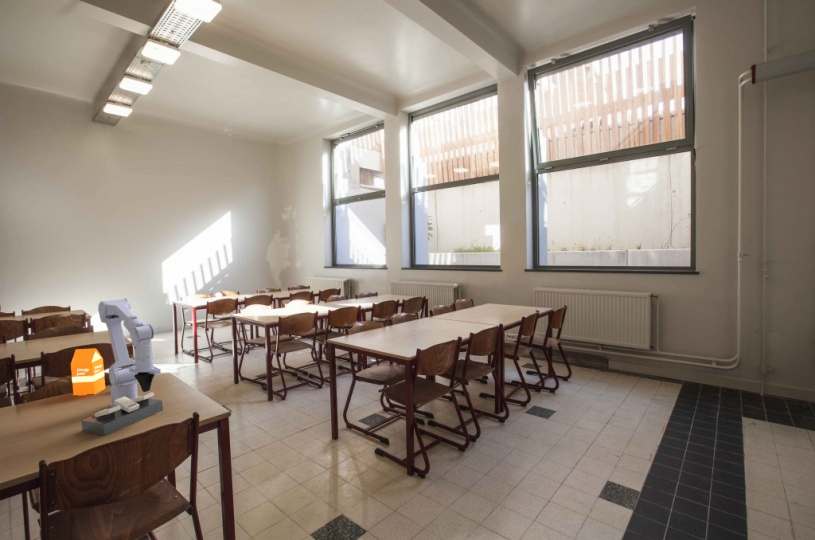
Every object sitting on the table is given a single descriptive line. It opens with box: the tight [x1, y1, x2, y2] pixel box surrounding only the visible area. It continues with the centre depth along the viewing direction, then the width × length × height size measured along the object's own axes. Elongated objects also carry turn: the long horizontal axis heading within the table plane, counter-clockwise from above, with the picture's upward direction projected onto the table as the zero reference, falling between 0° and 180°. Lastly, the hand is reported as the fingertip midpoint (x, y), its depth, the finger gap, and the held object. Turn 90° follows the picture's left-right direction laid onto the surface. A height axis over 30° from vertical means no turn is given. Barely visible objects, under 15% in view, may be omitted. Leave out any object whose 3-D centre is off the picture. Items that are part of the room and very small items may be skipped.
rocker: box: [94, 405, 121, 417], centre depth 145 cm, size 8×4×2 cm, turn 69°
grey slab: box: [80, 397, 164, 437], centre depth 154 cm, size 12×26×5 cm, turn 160°
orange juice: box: [70, 348, 106, 396], centre depth 182 cm, size 8×9×20 cm
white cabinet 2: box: [114, 396, 139, 413], centre depth 151 cm, size 8×4×2 cm, turn 70°
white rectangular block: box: [131, 391, 155, 402], centre depth 157 cm, size 8×4×2 cm, turn 69°
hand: (146, 390), depth 156 cm, fingers closed
